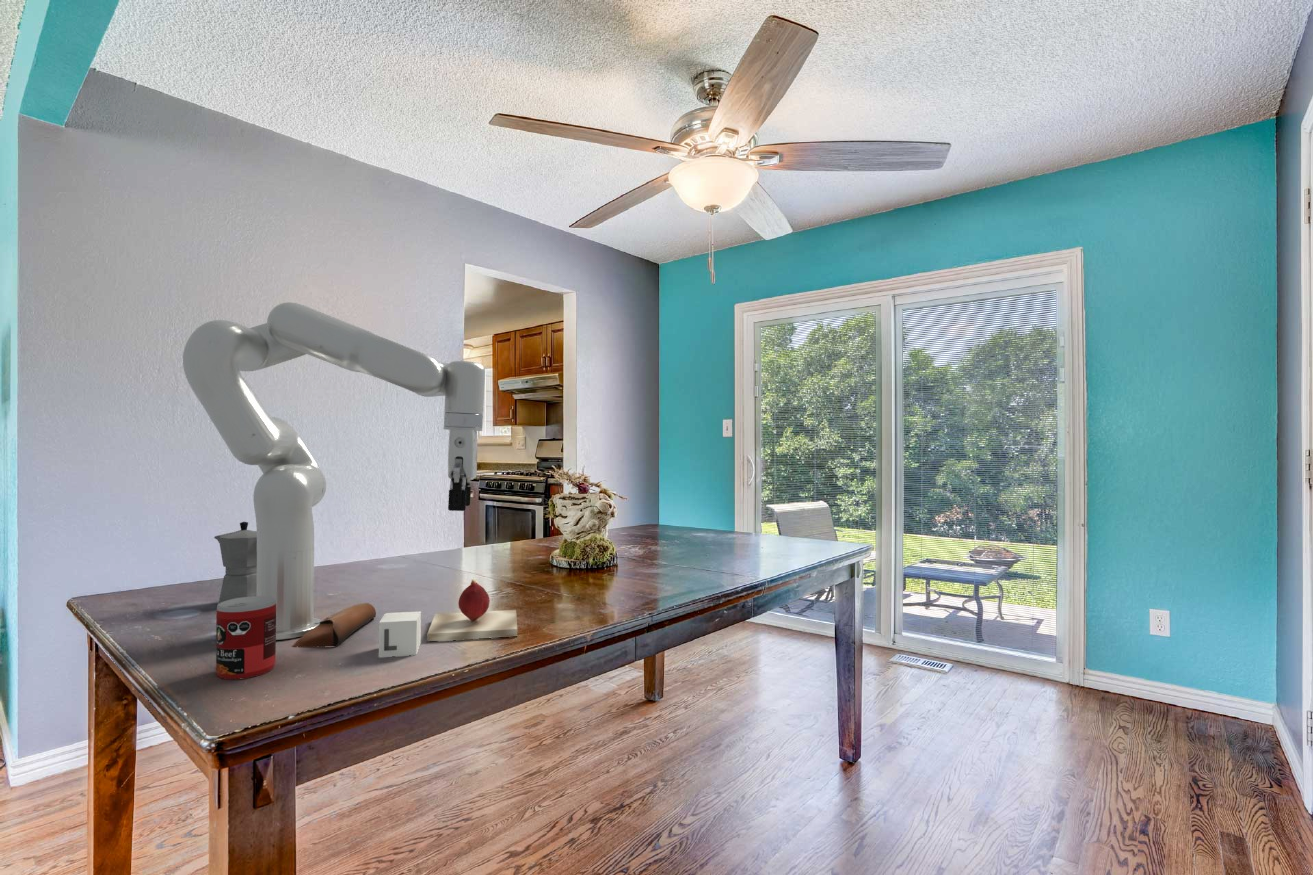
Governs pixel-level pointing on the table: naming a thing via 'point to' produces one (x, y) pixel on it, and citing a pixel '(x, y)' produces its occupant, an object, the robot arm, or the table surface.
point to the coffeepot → (239, 563)
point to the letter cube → (399, 634)
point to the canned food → (245, 637)
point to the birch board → (472, 626)
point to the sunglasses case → (338, 626)
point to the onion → (474, 601)
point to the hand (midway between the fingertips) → (459, 508)
